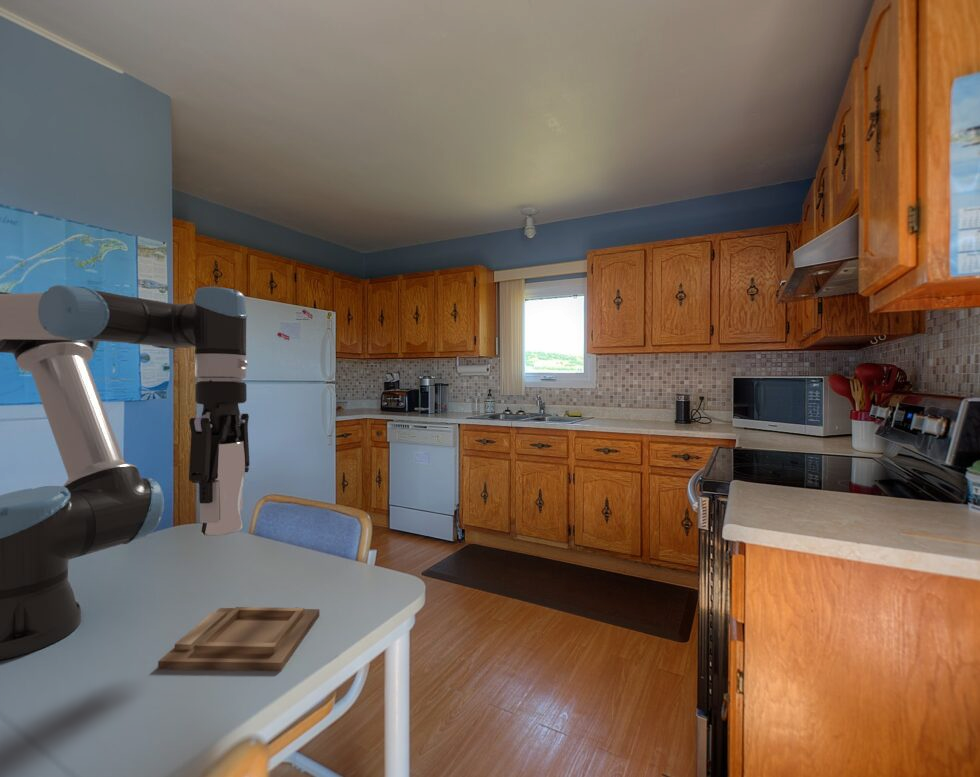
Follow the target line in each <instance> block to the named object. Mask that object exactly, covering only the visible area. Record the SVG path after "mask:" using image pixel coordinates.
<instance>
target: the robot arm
mask: <svg viewBox="0 0 980 777" xmlns="http://www.w3.org/2000/svg"><path fill="white" fill-rule="evenodd" d="M247 318H248V314H247V305H246V296H245V295H244V294H243V293H242V292H240V291H239V290H236V289H233V288H232V289H231V288H229V287H228V288H226V287H222V286H221V287H218V286H202V287H199V288H198V289H196V290H195V292H194V299H193V303H181V304H180V303H179V304H177V303H176V304H175V303H169V302H164V301H158V300H154V299H153V300H152V299H147V298H140V297H137V296H136V297H135V296H129V295H128V296H127V295H122V294H116V293H111V292H106V291H102V290H101V291H100V290H94V289H91V288H89V287H85V286H70V285H63V284H61V285H59V284H56V285H52V286H50V287H49V288H48V289H47V291H44V292H23V293H21V292H20V293H19V292H18V293H17V292H16V293H12V292H3V291H0V353H7V354H13V356H14V359H15V362H16V365H17V366H18V367H19V368H20V369H21V370H24V371H27V372H29V373H31V376H32V378H33V380H34V384H35V387H36V390H37V392H38V395H39V398H40V400H41V401H40V402H41V404H42V406H43V407H42V408H43V409H44V412H45V416H46V418H47V421H48V423H49V426H50V428H51V433H52V435H53V438H54V441H55V444H56V446H57V448H58V449H57V450H58V452H59V455H60V458H61V461H62V463H63V467H64V469H65V472H66V475H67V478H68V479H67V480H66V482H65V483H64V484H63V485H62V486H61V485H46V486H45V485H44V486H39V487H35V488H30V487H29V488H25V489H21V490H15V491H11V492H8V493H4V494H0V661H3V660H7V659H11V658H15V657H19V656H23V655H25V654H29V653H31V652H34V651H35V652H36V651H37V650H40V649H42V648H45V647H47V646H49V645H52V644H53V643H56V642H58V641H60V640H62V639H64V638H66V637H68V636H69V635H70V634H71V633H73V632H74V631H75V630H76V629H77V628H79V626H80V625H81V622H82V608H81V605H80V603H79V602H78V601H76V597H75V594H74V591H73V588H72V586H71V584H70V582H69V561H70V560H72V559H76V558H79V557H83V556H86V555H89V554H93V553H96V552H99V551H103V550H106V549H110V548H114V547H116V546H121V545H127V544H129V543H132V542H133V541H135V540H138V539H141V538H145V537H146V536H148V535H150V534H151V533H153V532H154V531H155V529H156V528H157V527H158V526H159V524H160V522H161V520H162V515H163V514H164V510H165V497H164V492H163V490H162V487H161V485H160V484H159V483H158V481H156V480H155V479H153V478H150V477H141V475H140V472H139V468H138V467H137V465H134V464H132V463H128V462H126V461H125V459H124V456H123V454H122V451H121V449H120V447H119V444H118V441H117V438H116V436H115V433H114V431H113V427H112V425H111V422H110V419H109V417H108V415H107V414H108V413H107V412H106V409H105V407H104V403H103V401H102V399H101V395H100V393H99V390H98V388H97V385H96V383H95V380H94V377H93V374H92V371H91V369H90V367H89V364H88V363H89V361H90V360H92V358H93V356H94V353H95V351H97V348H98V346H99V344H100V342H106V343H107V342H108V343H124V344H129V345H130V344H132V345H143V346H152V347H154V348H158V349H170V350H175V349H179V348H193V347H194V348H195V350H194V354H195V355H194V377H195V378H196V379H198V381H196V383H195V384H194V389H195V393H194V395H195V396H194V398H195V399H194V400H195V403H197V405H202V406H203V408H202V412H201V416H199V417H192V418H191V417H190V419H189V422H188V423H189V427H190V433H191V434H190V452H189V472H188V481H190V482H191V483H192V484H198V489H199V491H198V493H199V494H198V497H199V500H198V501H199V523H200V524H202V523H217V522H219V482H215V480H216V474H217V469H218V456H219V444H228V443H237V442H238V441H237V440H242V441H244V442H243V443H244V454H245V473H248V472H249V469H250V463H251V462H250V450H249V449H250V447H249V444H250V443H249V430H248V425H249V418H250V415H249V413H241V411H240V407H239V404H244V403H247V400H248V399H247V395H248V394H247V383H246V381H243V379H246V378H247V366H248V365H249V362H248V360H247ZM242 510H243V492H242V493H241V499H240V512H241V511H242Z"/></svg>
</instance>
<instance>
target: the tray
mask: <svg viewBox="0 0 980 777" xmlns="http://www.w3.org/2000/svg"><path fill="white" fill-rule="evenodd" d="M319 618H320V608H314V609H312V608H305V607H270V606H269V607H263V606H262V607H261V606H259V607H258V606H256V607H255V606H253V607H252V606H247V607H246V606H236V607H220V608H218V609H217V610H216V611H212V612H211V613H209V614H208V615H207V616H206V617H204V618H203V619H202V620H201V621H200V622H199V623H198V624H196V626H194V627H193V628H192V629H190V630H189V632H187V633H186V634H184V636H182V637H181V638H179V640H178V641H177V642H176V643H174V647H172V649H170V650H169V651H168V652H167V653H166V654H164V656H163V657H161V658H160V659H159V660H158V661H157V670H177V671H178V670H183V671H186V670H187V671H188V670H190V671H195V670H198V671H264V672H265V671H267V672H268V671H271V672H272V671H274V672H276V671H277V672H278V671H279V672H282V670H283V669H284V667H285V666H286V665H287V663H288V661H289V660H291V658H292V656H293V654H294V653H295V651H296V650H297V649H298V647H299V646H300V645H301V643H302V641H303V640H304V638H305V637H306V636H307V634H308V633H309V632H310V630H311V629H312V628H313V626H314V624H316V622H317V620H318V619H319Z"/></svg>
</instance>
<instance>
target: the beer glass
mask: <svg viewBox="0 0 980 777" xmlns="http://www.w3.org/2000/svg"><path fill="white" fill-rule="evenodd" d="M237 441H238V442H237V443H228V444H219V456H218V469H217V474H216V480H215V482H219V522H217V523H201V527H200V528H201V529H200V533H201V534H202V535H203V536H208V537H209V536H210V537H211V536H213V537H214V536H223V535H228V534H229V535H230V534H232V533H236V532H238V531H241V530H242V529H243V521H242V517H241V511H240V499H241V493H242V494H243V487H244V481H245V475H246V474H245V473H246V472H245V454H244V443H243V442H244V441H242V440H237Z"/></svg>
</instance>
